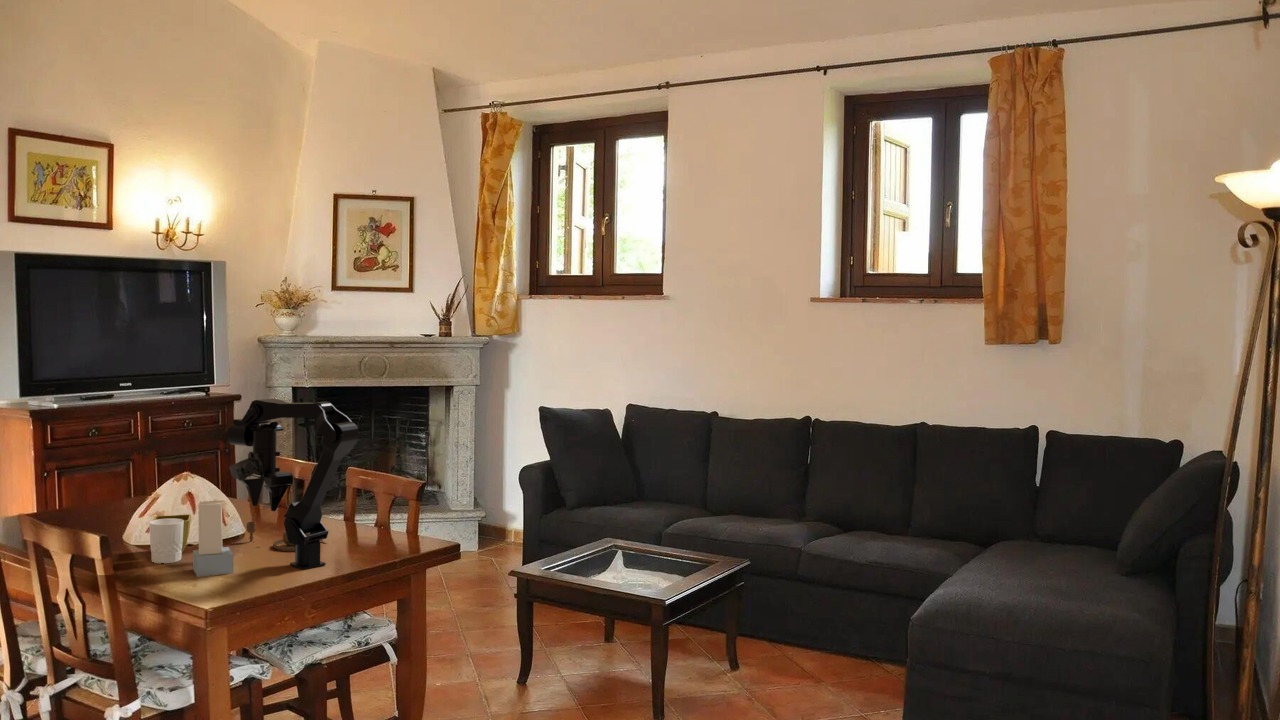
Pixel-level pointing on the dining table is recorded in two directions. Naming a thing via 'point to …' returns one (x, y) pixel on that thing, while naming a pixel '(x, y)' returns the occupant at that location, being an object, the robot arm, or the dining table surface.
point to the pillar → (210, 527)
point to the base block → (213, 563)
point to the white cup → (166, 540)
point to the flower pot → (185, 527)
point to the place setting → (252, 528)
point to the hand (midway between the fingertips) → (263, 508)
